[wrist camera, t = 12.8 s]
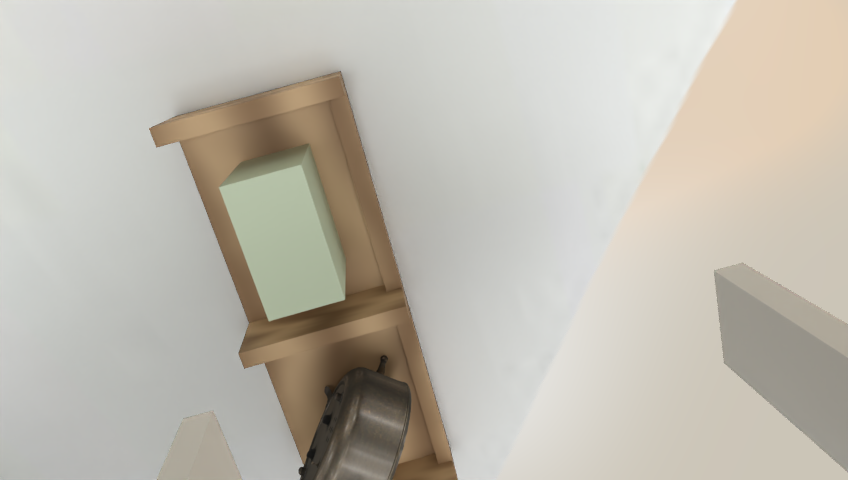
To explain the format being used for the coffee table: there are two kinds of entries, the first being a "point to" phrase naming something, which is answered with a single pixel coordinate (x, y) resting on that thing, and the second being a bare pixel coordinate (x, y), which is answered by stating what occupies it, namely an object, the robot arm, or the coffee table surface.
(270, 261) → the sage block
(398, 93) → the coffee table surface
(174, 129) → the wooden rack
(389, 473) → the alarm clock
